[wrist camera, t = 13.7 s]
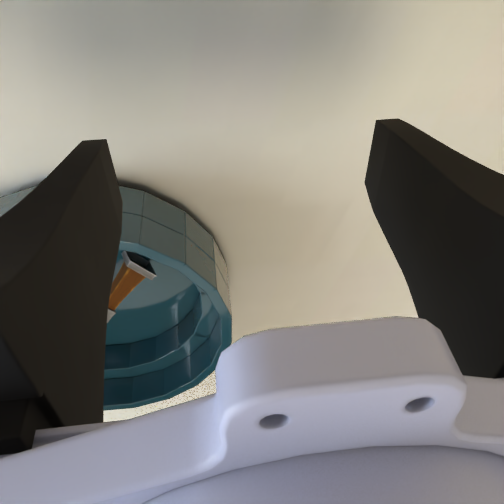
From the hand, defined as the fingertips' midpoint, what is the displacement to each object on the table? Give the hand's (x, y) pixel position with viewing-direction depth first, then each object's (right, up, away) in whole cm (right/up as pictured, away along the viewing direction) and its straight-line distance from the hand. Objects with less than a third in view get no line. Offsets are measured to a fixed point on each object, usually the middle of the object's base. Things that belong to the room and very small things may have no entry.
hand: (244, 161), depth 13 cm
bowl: (-9, -4, +16) cm, 19 cm away
